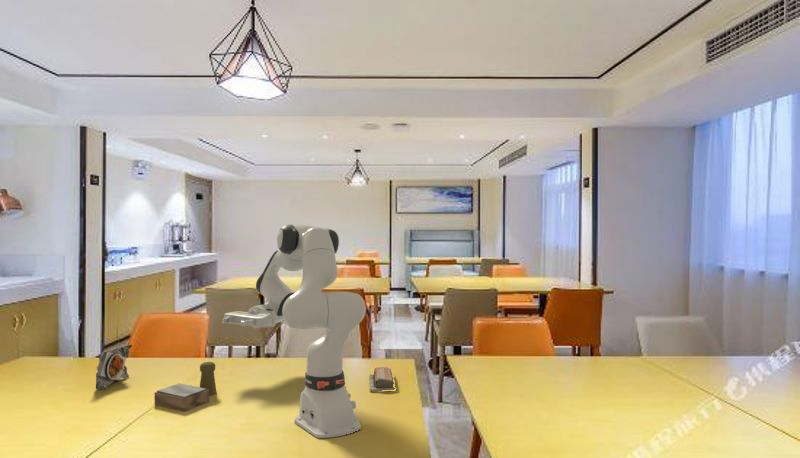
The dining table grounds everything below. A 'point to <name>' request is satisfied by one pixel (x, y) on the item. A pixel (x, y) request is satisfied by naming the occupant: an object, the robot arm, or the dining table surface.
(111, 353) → the grey mechanical part
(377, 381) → the packaged product
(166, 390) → the walnut riser
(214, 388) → the brown chess pawn
